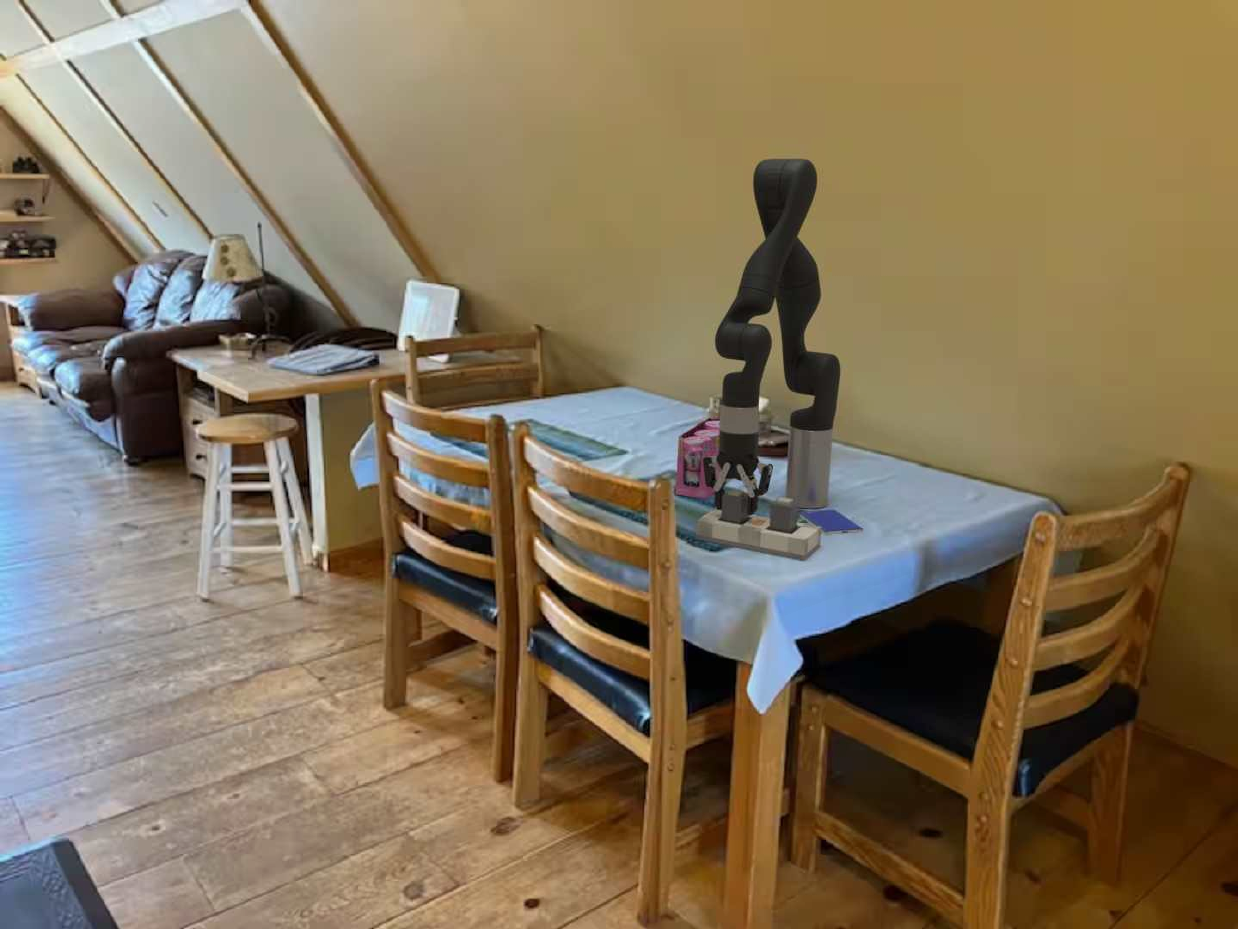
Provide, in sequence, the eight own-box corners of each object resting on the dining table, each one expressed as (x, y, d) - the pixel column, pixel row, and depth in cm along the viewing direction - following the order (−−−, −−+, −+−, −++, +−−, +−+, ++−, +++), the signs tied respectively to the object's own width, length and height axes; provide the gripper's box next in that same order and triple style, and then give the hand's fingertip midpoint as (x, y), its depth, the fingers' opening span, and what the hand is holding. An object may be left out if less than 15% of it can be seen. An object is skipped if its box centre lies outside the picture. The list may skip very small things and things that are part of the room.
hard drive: (800, 511, 209) (826, 530, 197) (835, 509, 211) (863, 527, 199) (799, 518, 209) (826, 538, 198) (835, 516, 211) (863, 535, 200)
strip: (696, 539, 194) (697, 518, 193) (715, 526, 202) (716, 506, 201) (803, 560, 184) (805, 538, 182) (820, 546, 191) (821, 525, 190)
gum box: (706, 501, 218) (708, 441, 215) (672, 496, 222) (674, 437, 218) (738, 474, 240) (740, 419, 236) (706, 470, 243) (709, 416, 239)
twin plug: (776, 537, 193) (778, 495, 190) (796, 541, 191) (798, 498, 188) (768, 543, 189) (771, 500, 187) (788, 547, 187) (791, 504, 185)
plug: (729, 528, 197) (731, 487, 195) (747, 532, 195) (749, 490, 193) (720, 534, 194) (722, 492, 192) (739, 538, 192) (741, 495, 190)
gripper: (782, 428, 189) (777, 512, 193) (713, 419, 196) (710, 500, 200) (767, 436, 183) (762, 523, 187) (696, 426, 190) (693, 510, 194)
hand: (735, 511), depth 194 cm, fingers open, 6 cm apart
